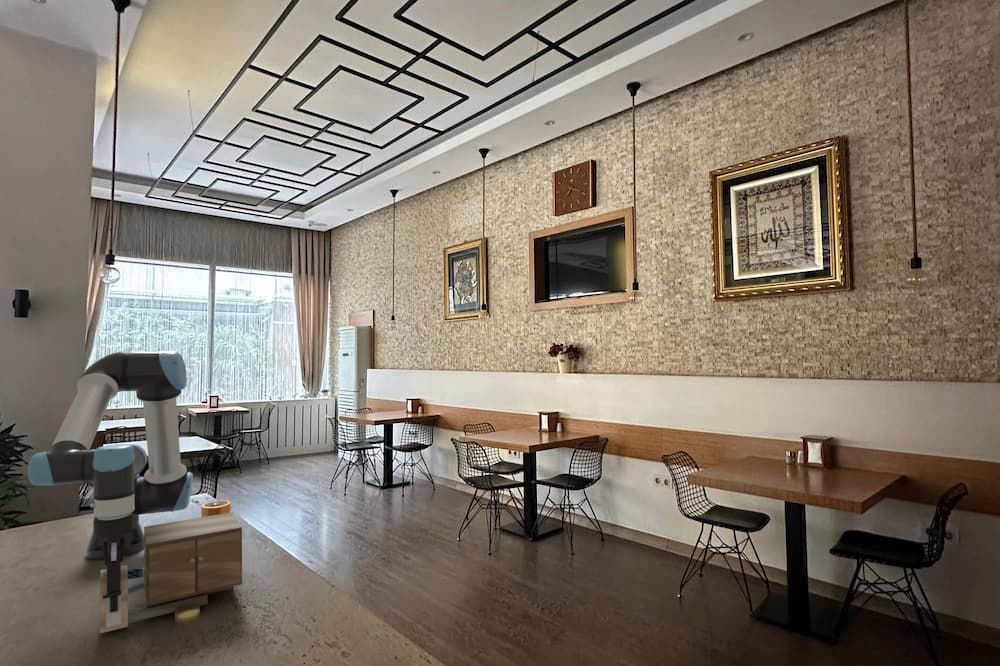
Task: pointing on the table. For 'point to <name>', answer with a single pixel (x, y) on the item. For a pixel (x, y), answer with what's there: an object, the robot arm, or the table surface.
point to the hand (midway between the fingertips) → (114, 619)
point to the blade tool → (140, 612)
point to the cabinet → (192, 557)
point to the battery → (215, 508)
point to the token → (187, 614)
